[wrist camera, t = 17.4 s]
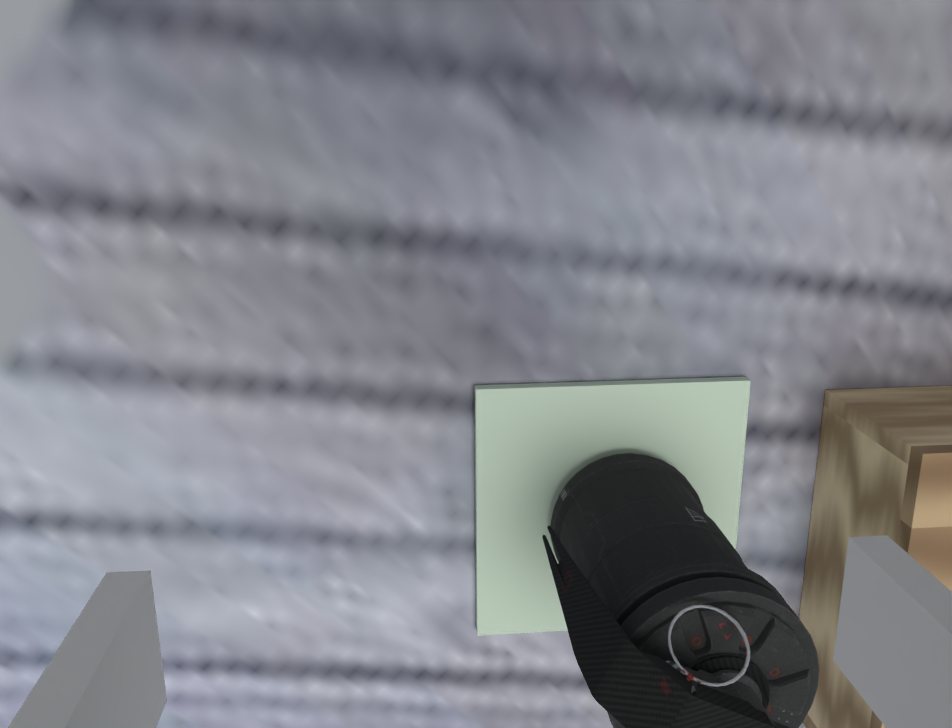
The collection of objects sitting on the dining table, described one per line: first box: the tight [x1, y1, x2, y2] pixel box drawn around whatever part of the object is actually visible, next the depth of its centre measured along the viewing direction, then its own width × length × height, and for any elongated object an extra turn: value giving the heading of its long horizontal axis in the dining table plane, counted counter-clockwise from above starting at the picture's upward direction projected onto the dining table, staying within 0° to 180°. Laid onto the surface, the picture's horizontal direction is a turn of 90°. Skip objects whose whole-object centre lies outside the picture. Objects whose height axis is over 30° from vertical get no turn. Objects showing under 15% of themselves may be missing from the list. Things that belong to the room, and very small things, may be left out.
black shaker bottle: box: [542, 453, 819, 728], centre depth 42 cm, size 9×11×20 cm
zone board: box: [475, 376, 751, 635], centre depth 52 cm, size 16×16×1 cm
